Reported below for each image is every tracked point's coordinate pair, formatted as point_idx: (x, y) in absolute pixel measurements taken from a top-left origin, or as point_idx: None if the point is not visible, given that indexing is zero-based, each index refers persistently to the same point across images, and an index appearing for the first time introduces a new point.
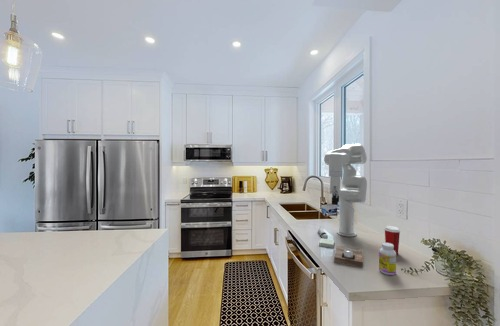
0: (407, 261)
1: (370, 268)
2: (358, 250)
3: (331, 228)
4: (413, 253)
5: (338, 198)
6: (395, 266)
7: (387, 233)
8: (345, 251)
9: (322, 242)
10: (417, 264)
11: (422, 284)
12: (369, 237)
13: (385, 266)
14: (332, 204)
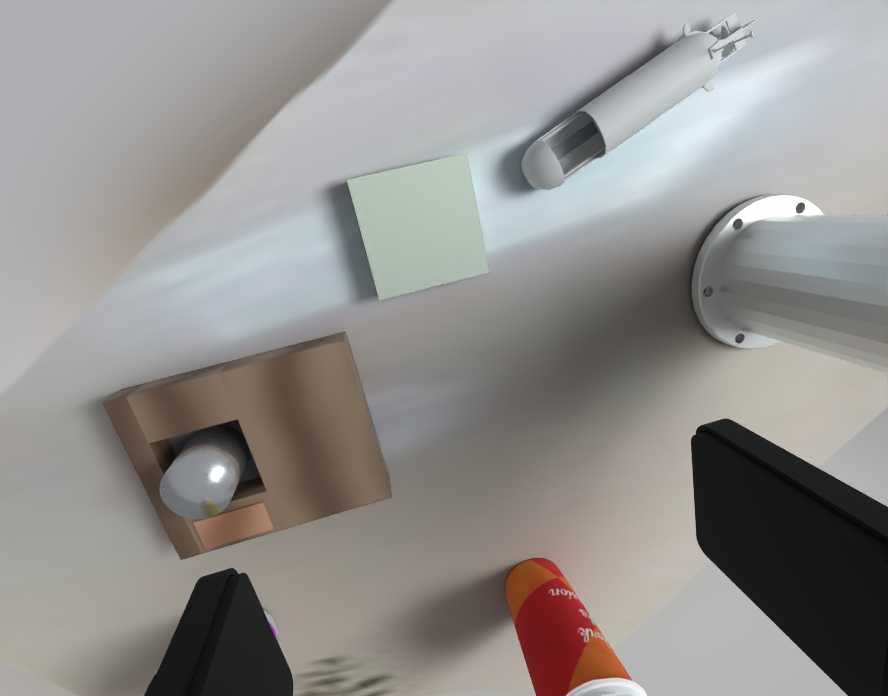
0: (453, 655)
1: (215, 566)
2: (368, 482)
3: (851, 114)
4: None
5: (780, 621)
6: None
7: (551, 686)
8: (169, 477)
9: (366, 205)
10: (444, 688)
11: None
12: (744, 425)
13: None
14: (207, 590)
